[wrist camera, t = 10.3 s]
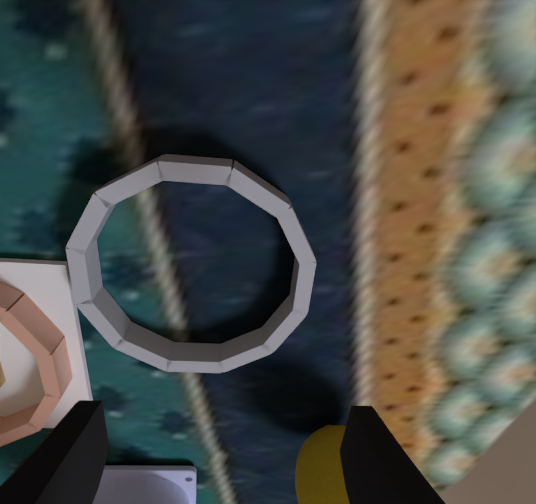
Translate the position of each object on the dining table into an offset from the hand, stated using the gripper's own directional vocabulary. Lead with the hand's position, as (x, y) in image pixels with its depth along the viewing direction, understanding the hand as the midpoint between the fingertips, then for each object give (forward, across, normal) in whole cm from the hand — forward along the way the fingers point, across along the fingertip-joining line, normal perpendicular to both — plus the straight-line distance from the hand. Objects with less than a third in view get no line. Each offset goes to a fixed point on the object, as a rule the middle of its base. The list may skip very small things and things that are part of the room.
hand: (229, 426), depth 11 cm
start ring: (+9, +2, 0) cm, 10 cm away
